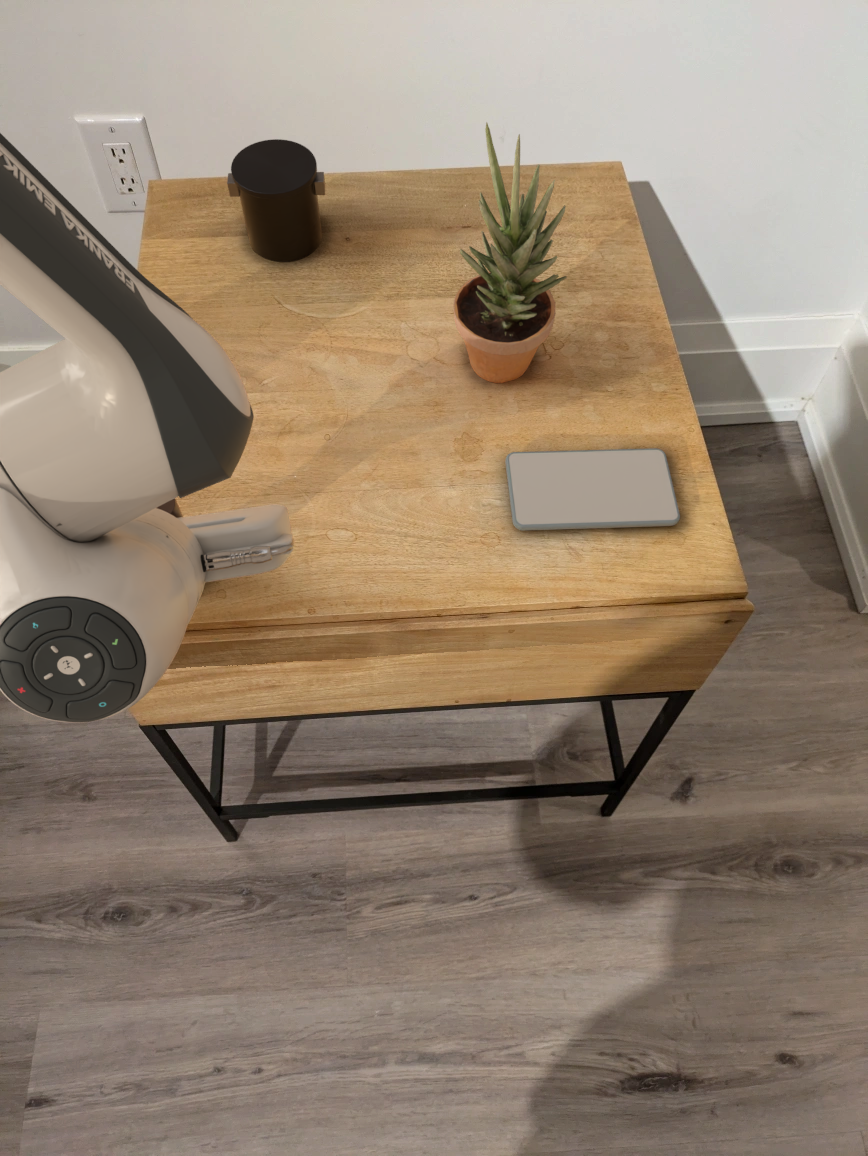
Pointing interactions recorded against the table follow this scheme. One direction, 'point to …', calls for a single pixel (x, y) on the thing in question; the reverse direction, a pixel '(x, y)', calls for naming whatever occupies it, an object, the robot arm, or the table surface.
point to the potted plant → (508, 281)
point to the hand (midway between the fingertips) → (167, 529)
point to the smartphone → (591, 489)
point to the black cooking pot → (279, 198)
